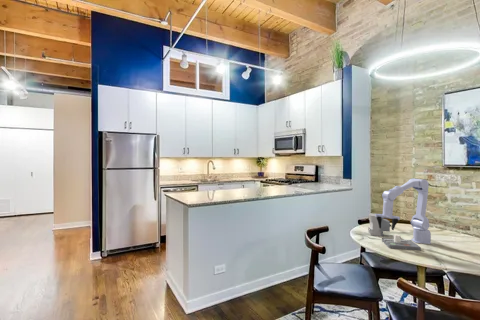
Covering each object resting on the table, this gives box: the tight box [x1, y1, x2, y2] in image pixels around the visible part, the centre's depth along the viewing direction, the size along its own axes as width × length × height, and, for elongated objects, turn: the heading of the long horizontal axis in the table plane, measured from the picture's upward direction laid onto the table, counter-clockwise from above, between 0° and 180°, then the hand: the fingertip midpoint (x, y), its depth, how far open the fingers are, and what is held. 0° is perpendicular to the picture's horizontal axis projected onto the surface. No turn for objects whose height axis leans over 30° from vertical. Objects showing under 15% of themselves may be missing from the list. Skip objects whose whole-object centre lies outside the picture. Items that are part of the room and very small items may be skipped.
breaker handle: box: [393, 233, 402, 242], centre depth 170 cm, size 3×3×5 cm
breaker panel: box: [381, 237, 422, 251], centre depth 170 cm, size 18×14×3 cm
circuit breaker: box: [367, 213, 392, 237], centre depth 193 cm, size 8×14×15 cm, turn 78°
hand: (386, 228), depth 172 cm, fingers open, 7 cm apart
